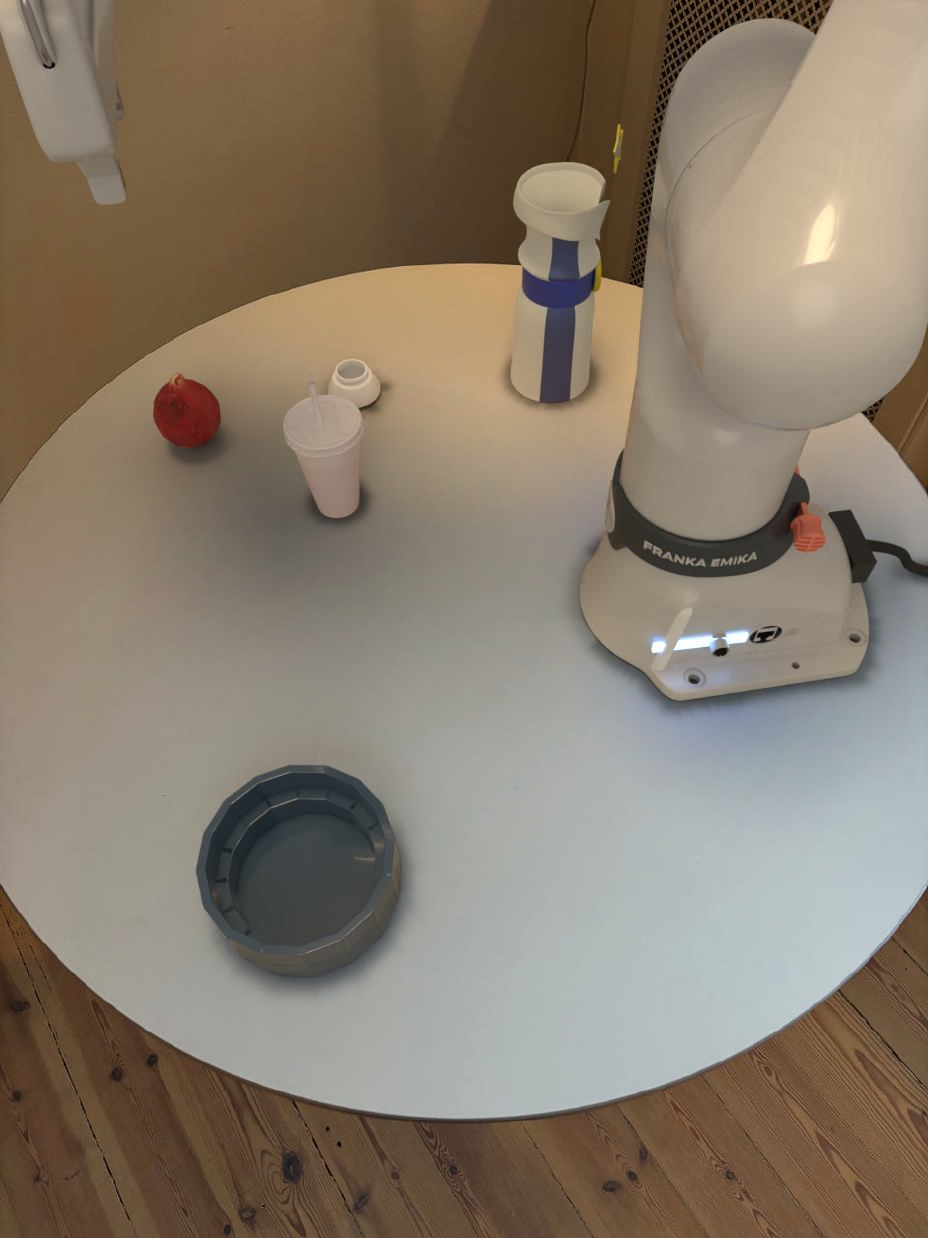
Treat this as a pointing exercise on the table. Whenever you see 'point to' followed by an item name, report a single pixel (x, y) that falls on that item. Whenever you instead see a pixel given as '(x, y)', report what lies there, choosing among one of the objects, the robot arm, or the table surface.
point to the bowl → (300, 869)
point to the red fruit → (186, 412)
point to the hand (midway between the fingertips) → (111, 154)
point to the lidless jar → (354, 382)
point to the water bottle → (558, 277)
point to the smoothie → (327, 449)
